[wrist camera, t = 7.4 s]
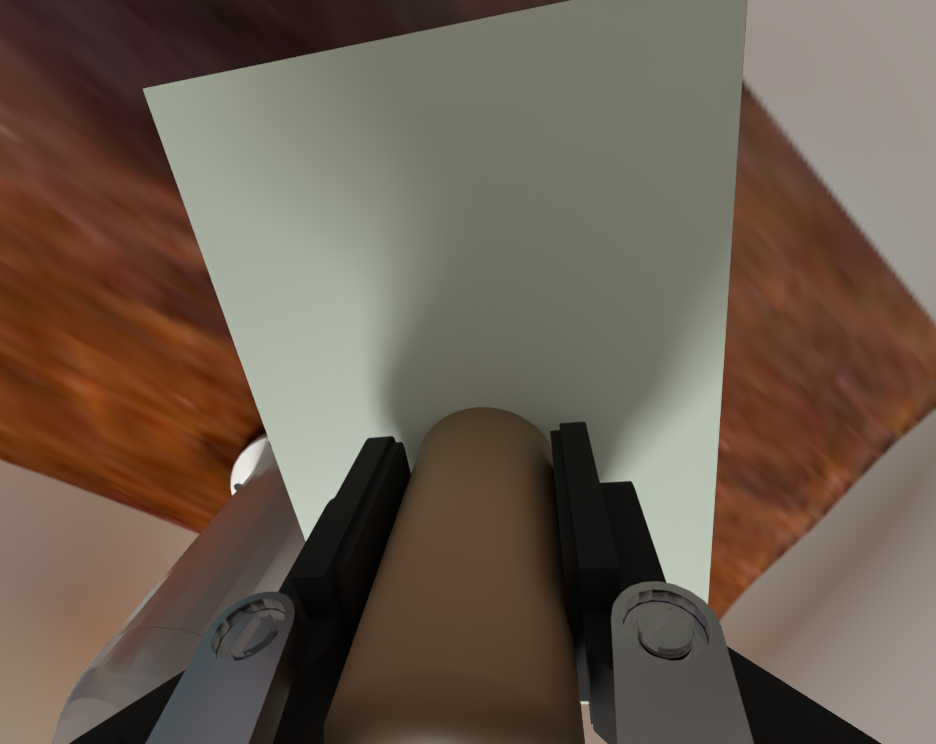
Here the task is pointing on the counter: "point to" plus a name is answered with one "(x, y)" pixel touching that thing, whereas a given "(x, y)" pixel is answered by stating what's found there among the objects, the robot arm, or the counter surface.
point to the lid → (479, 317)
